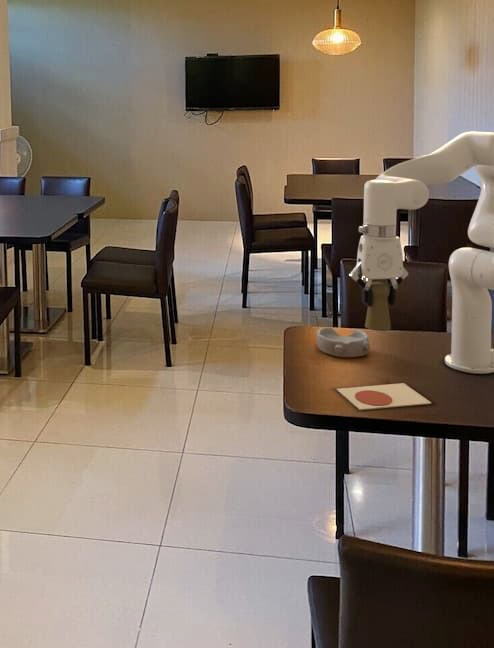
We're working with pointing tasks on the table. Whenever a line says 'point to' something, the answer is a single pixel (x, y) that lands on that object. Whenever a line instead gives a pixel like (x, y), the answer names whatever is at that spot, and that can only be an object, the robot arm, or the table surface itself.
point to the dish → (342, 343)
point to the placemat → (383, 396)
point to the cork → (378, 308)
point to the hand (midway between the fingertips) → (378, 303)
